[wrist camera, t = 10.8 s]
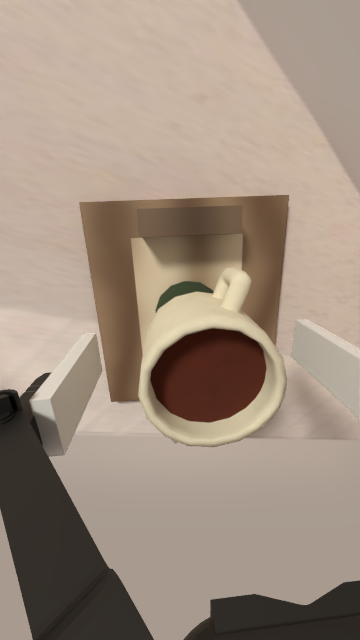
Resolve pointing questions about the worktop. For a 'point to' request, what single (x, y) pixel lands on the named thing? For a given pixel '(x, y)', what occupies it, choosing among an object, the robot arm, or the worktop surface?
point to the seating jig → (176, 265)
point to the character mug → (209, 365)
